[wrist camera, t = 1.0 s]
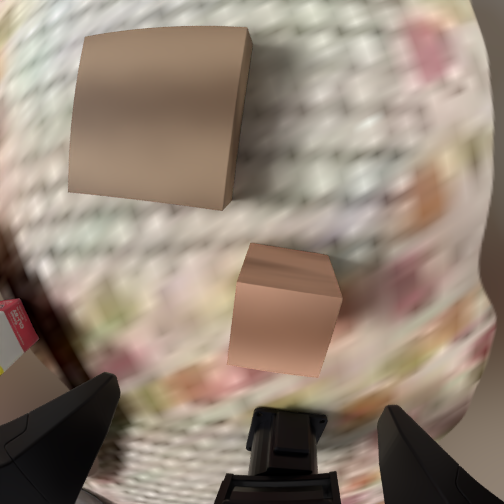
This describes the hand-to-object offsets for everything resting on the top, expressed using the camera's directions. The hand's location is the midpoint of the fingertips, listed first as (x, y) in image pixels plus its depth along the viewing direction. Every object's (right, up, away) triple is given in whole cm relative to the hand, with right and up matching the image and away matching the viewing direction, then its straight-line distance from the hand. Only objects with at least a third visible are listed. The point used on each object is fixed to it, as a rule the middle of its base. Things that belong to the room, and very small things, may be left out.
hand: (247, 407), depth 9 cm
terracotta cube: (+2, +3, +12) cm, 12 cm away
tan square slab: (-5, +13, +9) cm, 17 cm away
